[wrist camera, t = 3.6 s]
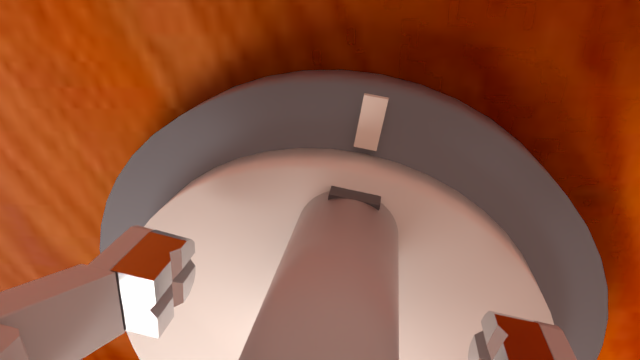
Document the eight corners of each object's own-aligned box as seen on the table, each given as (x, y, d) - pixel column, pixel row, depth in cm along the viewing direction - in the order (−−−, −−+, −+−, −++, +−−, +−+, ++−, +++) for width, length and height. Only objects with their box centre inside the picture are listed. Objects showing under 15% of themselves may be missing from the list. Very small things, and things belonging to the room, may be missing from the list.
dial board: (102, 22, 13) (52, 28, 11) (704, 133, 11) (767, 163, 9) (147, 372, 23) (124, 407, 21) (479, 463, 21) (487, 511, 19)
